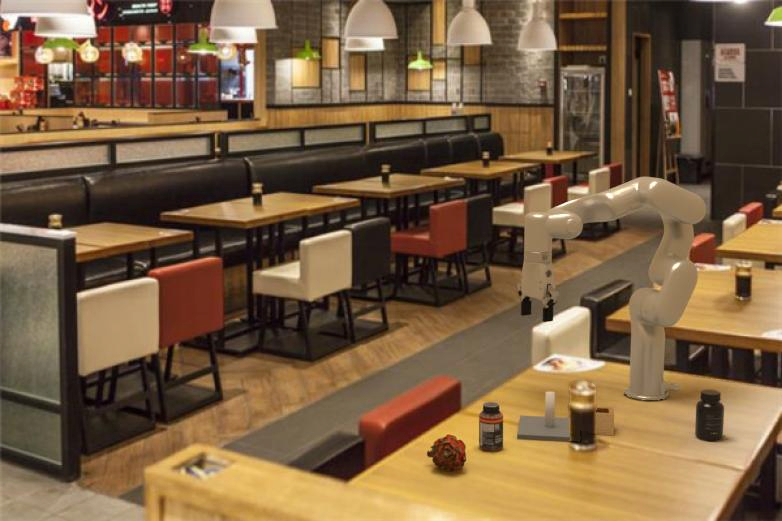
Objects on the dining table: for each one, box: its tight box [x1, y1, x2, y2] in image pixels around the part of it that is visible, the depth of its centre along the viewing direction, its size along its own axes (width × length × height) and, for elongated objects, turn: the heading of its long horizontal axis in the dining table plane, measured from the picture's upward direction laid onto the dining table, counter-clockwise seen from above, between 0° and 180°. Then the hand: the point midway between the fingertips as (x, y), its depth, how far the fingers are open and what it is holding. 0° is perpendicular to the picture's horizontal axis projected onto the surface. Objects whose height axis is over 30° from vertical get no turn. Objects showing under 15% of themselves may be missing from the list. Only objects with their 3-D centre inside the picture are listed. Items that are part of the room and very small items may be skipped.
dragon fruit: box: [426, 434, 467, 472], centre depth 236 cm, size 8×8×12 cm
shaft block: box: [516, 390, 570, 443], centre depth 262 cm, size 16×16×10 cm
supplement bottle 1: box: [478, 401, 504, 453], centre depth 248 cm, size 6×6×11 cm
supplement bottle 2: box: [694, 389, 725, 442], centre depth 255 cm, size 7×7×12 cm
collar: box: [595, 406, 615, 436], centre depth 262 cm, size 6×6×6 cm
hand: (536, 318), depth 280 cm, fingers open, 9 cm apart
